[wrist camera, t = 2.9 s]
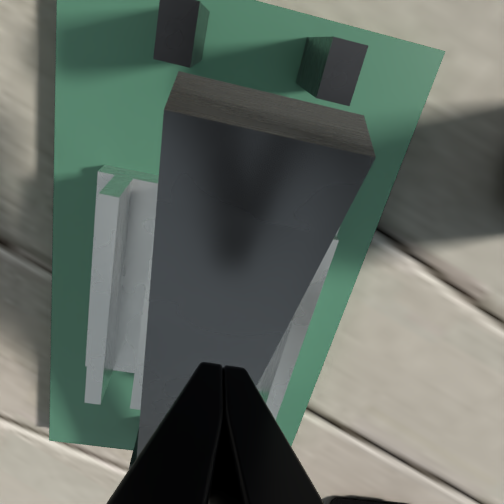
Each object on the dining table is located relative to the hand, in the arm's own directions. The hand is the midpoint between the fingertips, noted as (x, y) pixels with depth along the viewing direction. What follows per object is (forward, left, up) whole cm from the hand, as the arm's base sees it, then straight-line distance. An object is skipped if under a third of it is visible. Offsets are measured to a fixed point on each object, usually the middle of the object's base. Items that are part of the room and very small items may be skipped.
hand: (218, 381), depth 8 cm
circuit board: (-5, 0, -12) cm, 13 cm away
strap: (-5, 0, -5) cm, 7 cm away
